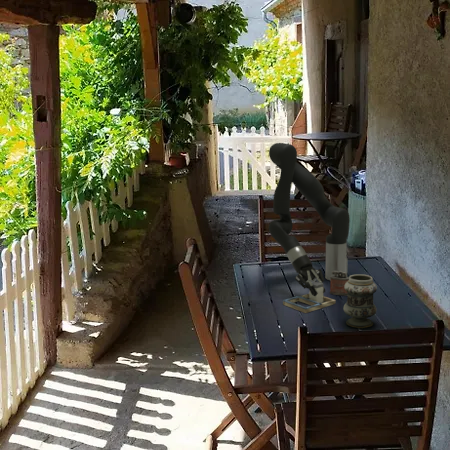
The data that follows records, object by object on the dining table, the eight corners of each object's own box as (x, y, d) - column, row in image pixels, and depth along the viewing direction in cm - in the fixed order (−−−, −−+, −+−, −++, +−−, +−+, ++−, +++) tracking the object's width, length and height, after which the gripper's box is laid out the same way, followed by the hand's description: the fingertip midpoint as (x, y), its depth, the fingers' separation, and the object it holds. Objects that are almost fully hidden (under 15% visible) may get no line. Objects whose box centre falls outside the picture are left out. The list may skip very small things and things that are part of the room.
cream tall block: (316, 299, 262) (316, 281, 260) (323, 302, 259) (323, 283, 257) (309, 301, 259) (309, 283, 258) (316, 304, 256) (316, 285, 255)
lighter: (349, 293, 269) (349, 271, 267) (348, 295, 266) (348, 273, 264) (330, 291, 272) (330, 269, 269) (329, 294, 268) (329, 271, 266)
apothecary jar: (371, 316, 241) (372, 272, 238) (379, 328, 230) (381, 281, 226) (339, 317, 241) (341, 272, 237) (347, 329, 229) (348, 282, 225)
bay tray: (312, 295, 267) (312, 291, 266) (335, 303, 257) (335, 299, 256) (283, 304, 257) (283, 300, 256) (305, 313, 247) (305, 308, 246)
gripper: (291, 257, 257) (312, 293, 250) (315, 251, 265) (336, 285, 258) (282, 267, 262) (302, 302, 255) (306, 261, 270) (327, 294, 263)
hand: (319, 293), depth 257 cm, fingers closed on cream tall block, 4 cm apart
